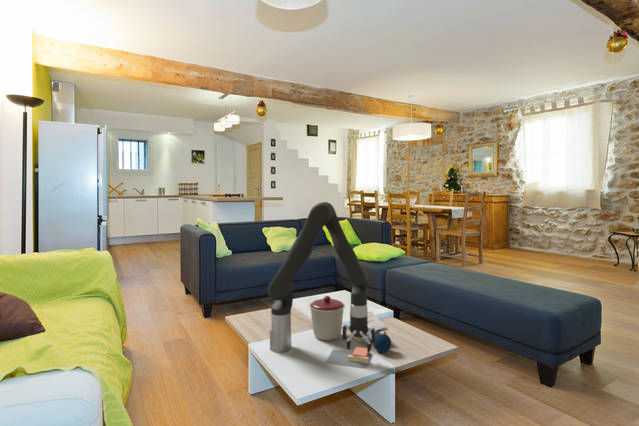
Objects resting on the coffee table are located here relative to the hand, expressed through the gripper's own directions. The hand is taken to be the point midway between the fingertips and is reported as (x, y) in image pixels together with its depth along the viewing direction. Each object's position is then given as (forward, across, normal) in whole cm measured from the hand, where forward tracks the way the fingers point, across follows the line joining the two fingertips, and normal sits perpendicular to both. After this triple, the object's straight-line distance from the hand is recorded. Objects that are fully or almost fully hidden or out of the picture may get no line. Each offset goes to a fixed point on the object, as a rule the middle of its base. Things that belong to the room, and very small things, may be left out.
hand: (358, 350), depth 160 cm
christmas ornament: (+5, -8, -12) cm, 16 cm away
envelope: (+6, +5, -47) cm, 48 cm away
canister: (+5, +20, -21) cm, 30 cm away
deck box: (+3, 0, 0) cm, 3 cm away
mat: (+5, +4, 0) cm, 7 cm away
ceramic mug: (+5, -3, -22) cm, 22 cm away
